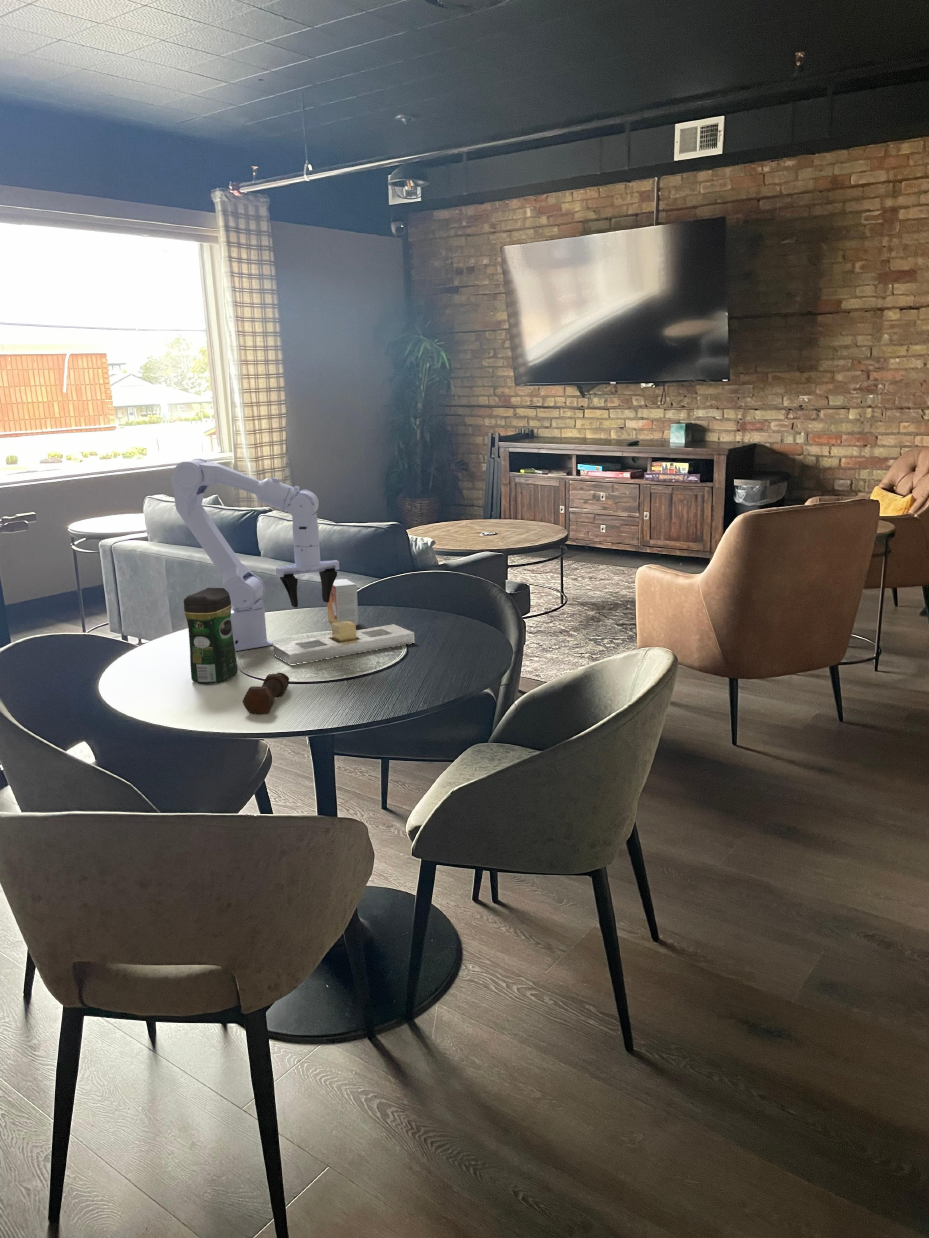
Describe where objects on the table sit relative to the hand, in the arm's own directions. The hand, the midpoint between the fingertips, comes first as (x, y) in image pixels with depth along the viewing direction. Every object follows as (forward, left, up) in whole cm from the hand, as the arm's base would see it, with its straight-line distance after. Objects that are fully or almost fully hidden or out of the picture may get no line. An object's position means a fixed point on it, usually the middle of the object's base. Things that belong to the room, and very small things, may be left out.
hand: (310, 604), depth 209 cm
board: (+4, -9, -9) cm, 14 cm away
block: (+4, -9, -10) cm, 14 cm away
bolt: (-22, -34, -10) cm, 41 cm away
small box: (+14, +14, -10) cm, 22 cm away
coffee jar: (-27, -13, -10) cm, 31 cm away
